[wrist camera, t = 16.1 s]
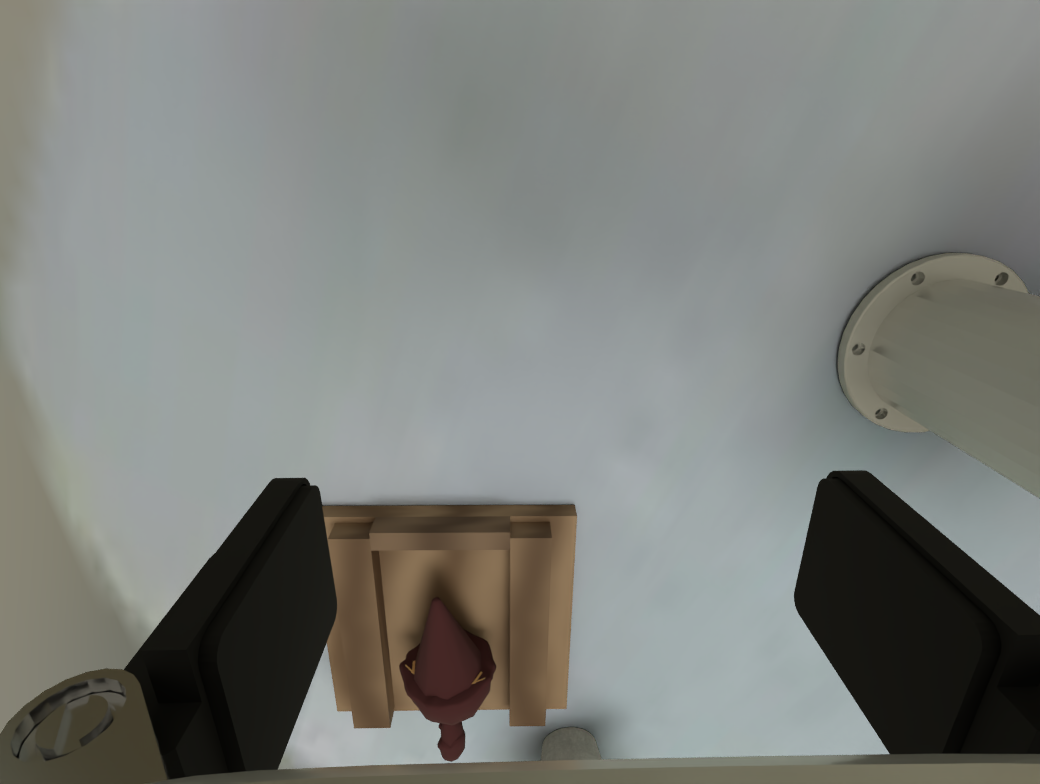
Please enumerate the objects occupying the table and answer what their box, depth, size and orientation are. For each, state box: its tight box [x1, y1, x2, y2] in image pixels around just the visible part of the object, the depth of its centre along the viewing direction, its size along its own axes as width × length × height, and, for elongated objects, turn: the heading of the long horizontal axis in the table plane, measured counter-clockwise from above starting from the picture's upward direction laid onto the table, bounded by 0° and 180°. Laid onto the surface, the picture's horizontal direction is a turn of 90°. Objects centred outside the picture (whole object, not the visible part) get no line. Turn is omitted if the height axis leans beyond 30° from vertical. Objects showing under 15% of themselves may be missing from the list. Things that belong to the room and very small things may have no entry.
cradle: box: [322, 505, 577, 728], centre depth 45 cm, size 20×20×4 cm
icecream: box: [399, 597, 496, 762], centre depth 43 cm, size 7×7×15 cm
